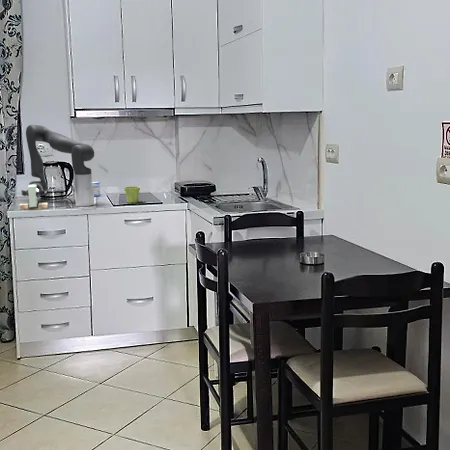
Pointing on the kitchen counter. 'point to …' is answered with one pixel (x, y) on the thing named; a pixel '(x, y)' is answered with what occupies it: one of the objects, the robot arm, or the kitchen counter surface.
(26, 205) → the slot board
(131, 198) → the plant pot
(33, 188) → the tall mint green pillar
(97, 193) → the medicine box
